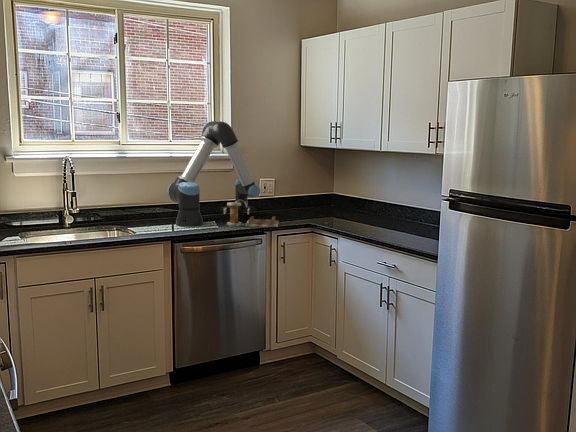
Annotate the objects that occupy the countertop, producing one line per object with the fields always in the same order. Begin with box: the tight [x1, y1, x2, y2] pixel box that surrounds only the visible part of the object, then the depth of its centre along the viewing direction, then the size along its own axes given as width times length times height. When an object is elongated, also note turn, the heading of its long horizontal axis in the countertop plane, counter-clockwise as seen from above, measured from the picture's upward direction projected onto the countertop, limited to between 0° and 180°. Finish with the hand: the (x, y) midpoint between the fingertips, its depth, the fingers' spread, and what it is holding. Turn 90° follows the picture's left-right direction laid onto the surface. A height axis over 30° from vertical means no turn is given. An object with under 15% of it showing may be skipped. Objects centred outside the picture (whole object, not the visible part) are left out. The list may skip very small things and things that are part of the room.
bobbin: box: [226, 201, 242, 227], centre depth 337 cm, size 8×8×12 cm
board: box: [245, 215, 280, 228], centre depth 340 cm, size 18×14×4 cm
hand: (236, 212), depth 340 cm, fingers open, 13 cm apart
